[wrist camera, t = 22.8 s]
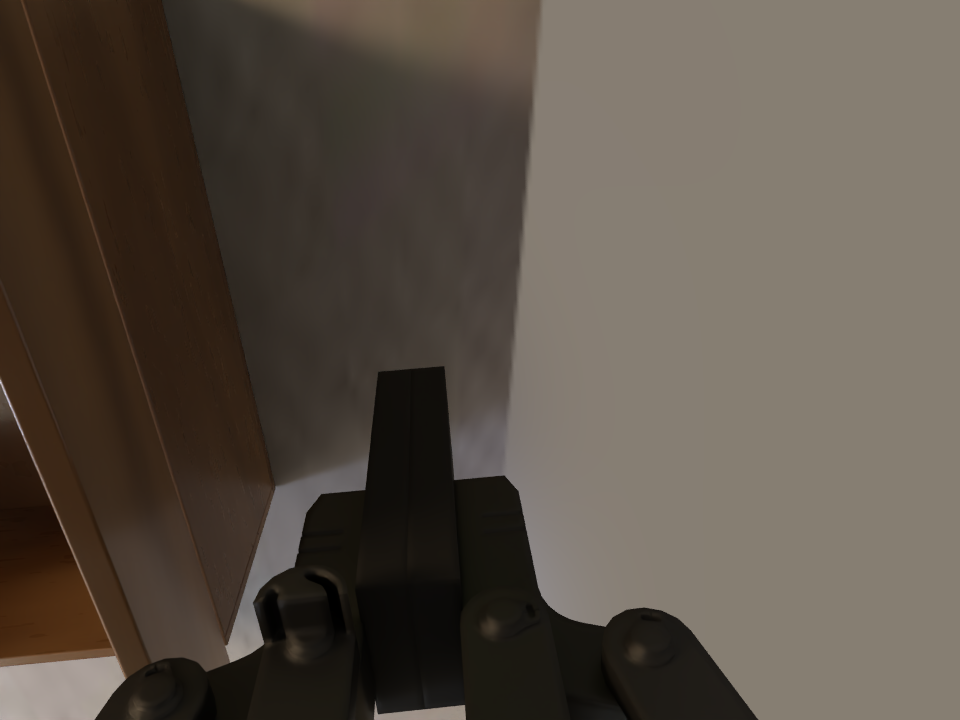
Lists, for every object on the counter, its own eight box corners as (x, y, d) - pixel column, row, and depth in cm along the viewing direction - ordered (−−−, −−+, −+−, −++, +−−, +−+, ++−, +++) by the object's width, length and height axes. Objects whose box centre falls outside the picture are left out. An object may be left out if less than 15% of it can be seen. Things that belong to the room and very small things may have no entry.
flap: (-19, -47, 13) (5, -48, 13) (216, 664, 22) (229, 659, 22) (-221, -134, 6) (-162, -134, 6) (259, 996, 15) (278, 986, 15)
